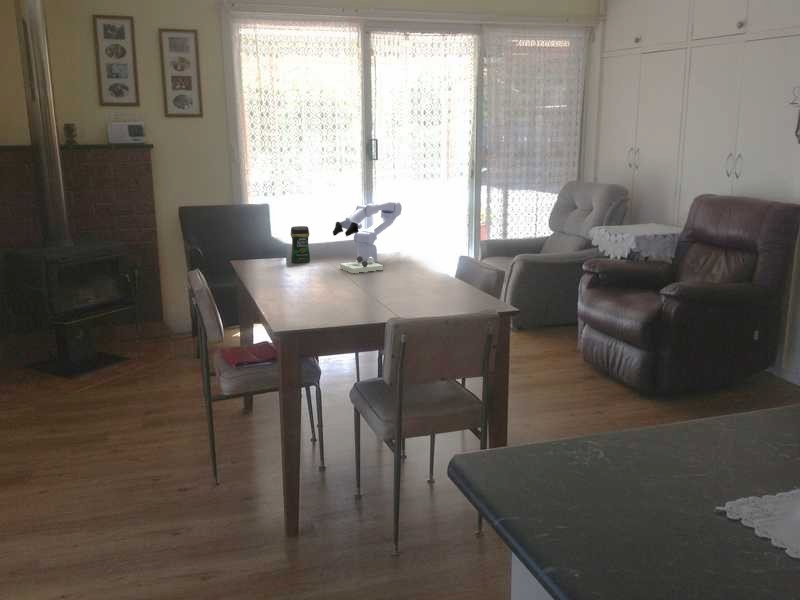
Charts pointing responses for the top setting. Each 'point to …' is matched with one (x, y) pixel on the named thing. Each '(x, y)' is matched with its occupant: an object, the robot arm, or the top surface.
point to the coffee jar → (300, 244)
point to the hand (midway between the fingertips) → (339, 234)
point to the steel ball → (370, 260)
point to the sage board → (360, 267)
